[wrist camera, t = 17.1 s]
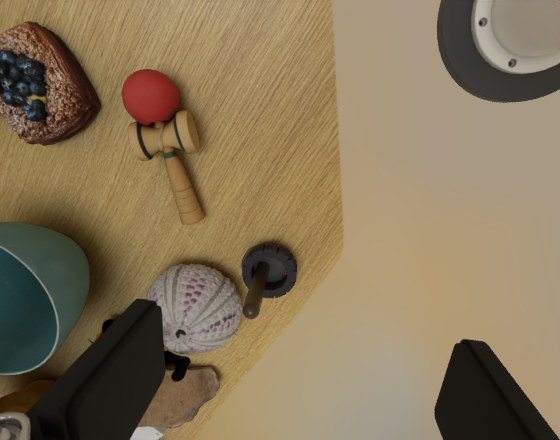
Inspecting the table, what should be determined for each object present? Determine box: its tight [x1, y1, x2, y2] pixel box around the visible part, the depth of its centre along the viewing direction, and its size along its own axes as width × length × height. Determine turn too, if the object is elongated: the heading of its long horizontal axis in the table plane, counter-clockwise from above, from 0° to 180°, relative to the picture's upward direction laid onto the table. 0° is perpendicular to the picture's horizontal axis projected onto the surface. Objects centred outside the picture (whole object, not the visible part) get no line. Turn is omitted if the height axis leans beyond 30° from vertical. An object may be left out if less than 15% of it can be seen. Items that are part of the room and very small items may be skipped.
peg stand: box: [242, 245, 285, 319], centre depth 38 cm, size 6×6×12 cm
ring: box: [242, 243, 297, 298], centre depth 41 cm, size 7×7×2 cm
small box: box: [130, 426, 167, 440], centre depth 51 cm, size 6×6×5 cm
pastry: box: [0, 21, 100, 146], centre depth 35 cm, size 11×12×6 cm
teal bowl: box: [0, 222, 90, 375], centre depth 40 cm, size 18×18×12 cm
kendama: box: [122, 69, 204, 225], centre depth 37 cm, size 8×6×18 cm
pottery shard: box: [137, 366, 220, 428], centre depth 48 cm, size 8×3×15 cm
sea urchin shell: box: [147, 263, 243, 355], centre depth 42 cm, size 13×14×8 cm
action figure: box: [90, 319, 191, 382], centre depth 43 cm, size 15×6×20 cm
